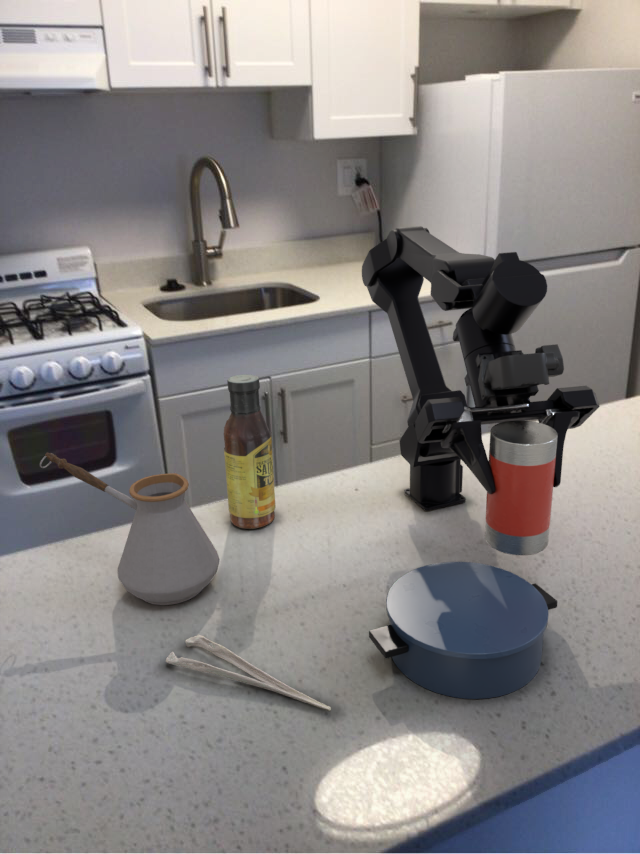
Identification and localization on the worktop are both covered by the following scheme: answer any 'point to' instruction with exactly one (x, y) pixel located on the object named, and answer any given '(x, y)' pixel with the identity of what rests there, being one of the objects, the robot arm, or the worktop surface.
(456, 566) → the enamel pot
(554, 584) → the worktop surface
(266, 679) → the tweezers
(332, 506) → the worktop surface
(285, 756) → the worktop surface
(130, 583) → the coffee pot
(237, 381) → the sauce bottle
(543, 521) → the tin can
